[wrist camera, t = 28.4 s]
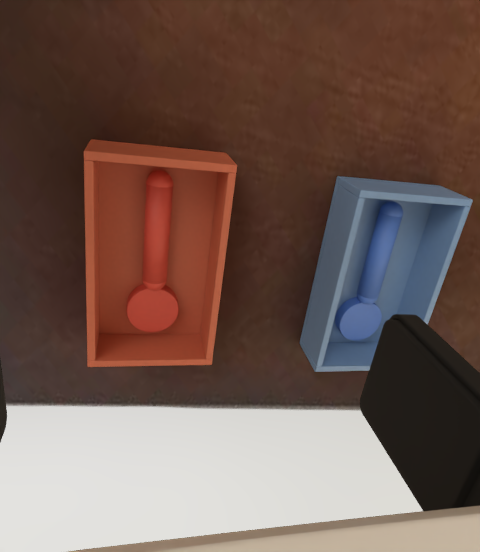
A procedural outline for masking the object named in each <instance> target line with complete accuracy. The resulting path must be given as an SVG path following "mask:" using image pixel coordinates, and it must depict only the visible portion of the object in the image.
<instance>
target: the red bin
mask: <svg viewBox="0 0 480 552" xmlns="http://www.w3.org/2000/svg"><path fill="white" fill-rule="evenodd" d="M157 170H162V171H165V172H167V173H168V174H169V175H170V176H171V178H172V180H173V195H172V209H171V224H170V239H169V254H168V268H167V281H166V284H165V285H166V286H168V287H169V288H171V289H172V290H173V291H174V293H175V295H176V297H177V300H178V307H179V312H178V316H177V318H176V320H175V321H174V323H173V324H172V325H171V326H169V327H168V328H166V329H164V330H162V331H158V332H145V331H142V330H139V329H138V328H136V327H135V326H133V325H132V324H131V322H130V321H129V319H128V317H127V300H128V297H129V295H130V293H131V292H132V291H133V290H134V289H135V288H136V287H138V286H140V285H142V284H143V281H142V274H143V250H144V226H145V202H146V181H147V178H148V176H149V175H150V174H151V173H152V172H154V171H157ZM236 171H237V165H236V164H235V162H234V161H233V160H232V159H231V158H230V157H229V156H228V155H227V154H226V153H223V152H213V151H203V150H193V149H183V148H173V147H163V146H154V145H144V144H134V143H124V142H114V141H104V140H94V139H91V140H90V142H89V143H88V145H87V147H86V148H85V150H84V193H85V248H86V304H87V360H88V367H109V366H167V365H212V358H213V351H214V343H215V335H216V327H217V319H218V312H219V304H220V296H221V288H222V280H223V273H224V265H225V257H226V249H227V241H228V234H229V226H230V218H231V210H232V202H233V195H234V187H235V179H236Z"/></svg>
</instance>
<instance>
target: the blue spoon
mask: <svg viewBox="0 0 480 552" xmlns="http://www.w3.org/2000/svg"><path fill="white" fill-rule="evenodd" d="M402 217H403V209H402V207H401V205H400V204H398V203H396V202H387V203H385V204H384V205H383V206H382V207H381V208H380V211H379V214H378V218H377V221H376V225H375V229H374V232H373V236H372V240H371V243H370V247H369V250H368V254H367V258H366V261H365V265H364V269H363V272H362V276H361V279H360V283H359V287H358V290H357V297H354V298H351V299H349V300H347V301H346V302H344V303H343V304H342V305H341V306H340V308H339V309H338V311H337V313H336V316H335V324H336V326H337V328H338V330H339V331H340V332H341V334H342V335H343V336H344V337H345V338H347V339H349V340H355V341H356V340H362V339H365V338H367V337H369V336H371V335H372V334H373V333H374V332H375V331H376V330H377V329H378V327H379V325H380V323H381V319H382V314H381V310H380V309H379V307H378V306H377V305H376V304H375V303H374V302H375V301H376V300H377V299H378V297H379V293H380V290H381V287H382V283H383V280H384V277H385V273H386V270H387V267H388V263H389V260H390V257H391V253H392V250H393V247H394V243H395V240H396V237H397V233H398V230H399V227H400V223H401V220H402Z"/></svg>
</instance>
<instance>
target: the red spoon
mask: <svg viewBox="0 0 480 552" xmlns="http://www.w3.org/2000/svg"><path fill="white" fill-rule="evenodd" d="M172 195H173V180H172V178H171V176H170V175H169V174H168V173H167V172H165V171H162V170H157V171H154V172H152V173H151V174H150V175H149V176H148V178H147V181H146V202H145V226H144V250H143V274H142V281H143V284H142V285H140V286H138V287H136V288H135V289H134V290H133V291H132V292H131V293H130V295H129V297H128V300H127V317H128V319H129V321H130V322H131V324H132V325H133V326H135V327H136V328H138V329H139V330H142V331H145V332H158V331H162V330H164V329H166V328H168V327H169V326H171V325H172V324H173V323H174V321H175V320H176V318H177V316H178V312H179V307H178V300H177V297H176V295H175V293H174V291H173V290H172V289H171V288H169V287H168V286H166V285H165V284H166V281H167V268H168V254H169V239H170V224H171V209H172Z"/></svg>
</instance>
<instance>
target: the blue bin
mask: <svg viewBox="0 0 480 552" xmlns="http://www.w3.org/2000/svg"><path fill="white" fill-rule="evenodd" d="M387 202H396V203H398V204H400V205H401V207H402V209H403V217H402V220H401V223H400V227H399V230H398V233H397V237H396V240H395V243H394V247H393V250H392V253H391V257H390V260H389V263H388V267H387V270H386V273H385V277H384V280H383V283H382V287H381V290H380V293H379V297H378V299H377V300H376V301H375V302H374V303H375V304H376V305H377V306H378V307H379V309H380V310H381V314H382V319H381V323H380V325H379V327H378V329H377V330H376V331H375V332H374V333H373V334H372V335H371V336H369V337H367V338H365V339H362V340H356V341H355V340H349V339H347V338H345V337H344V336H343V335H342V334H341V332H340V331H339V330H338V328H337V326H336V324H335V316H336V313H337V311H338V309H339V308H340V306H341V305H342V304H343V303H344V302H346V301H347V300H349V299H351V298H354V297H357V290H358V287H359V283H360V279H361V276H362V272H363V269H364V265H365V261H366V258H367V254H368V250H369V247H370V243H371V240H372V236H373V232H374V229H375V225H376V221H377V218H378V214H379V211H380V208H381V207H382V206H383V205H384V204H385V203H387ZM472 202H473V200H472V199H470V198H468V197H465V196H463V195H461V194H458V193H456V192H453V191H451V190H449V189H446V188H444V187H442V186H439V185H428V184H417V183H407V182H396V181H385V180H375V179H364V178H353V177H342V176H337V179H336V184H335V188H334V193H333V197H332V201H331V206H330V210H329V215H328V219H327V224H326V228H325V232H324V237H323V241H322V246H321V250H320V255H319V259H318V263H317V268H316V272H315V277H314V281H313V286H312V290H311V294H310V299H309V303H308V308H307V312H306V317H305V321H304V325H303V330H302V334H301V339H300V345H301V347H302V349H303V351H304V353H305V355H306V356H307V358H308V360H309V362H310V364H311V365H312V367H313V369H314V371H315V372H327V371H369V370H370V366H371V363H372V360H373V357H374V354H375V351H376V347H377V344H378V341H379V338H380V335H381V332H382V328H383V325H384V323H385V322H386V320H389V319H390V318H391V316H392V315H395V314H413V315H417V316H418V317H420V318H421V319H422V320H423V321H424V322H425V323H426V324H427V325H428V322H429V319H430V317H431V314H432V311H433V308H434V306H435V303H436V300H437V298H438V295H439V292H440V289H441V287H442V284H443V281H444V278H445V276H446V273H447V270H448V267H449V265H450V262H451V259H452V256H453V254H454V251H455V248H456V245H457V243H458V240H459V237H460V235H461V232H462V229H463V226H464V224H465V221H466V218H467V215H468V213H469V210H470V206H471V204H472Z"/></svg>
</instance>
